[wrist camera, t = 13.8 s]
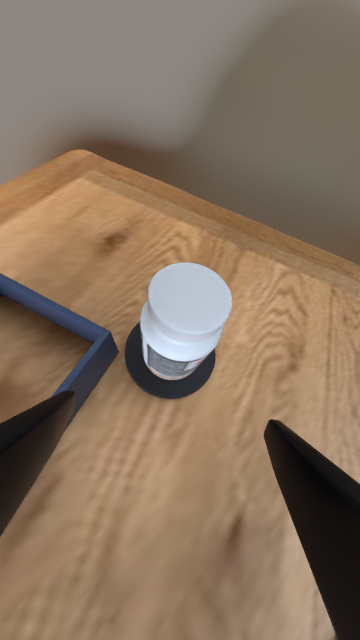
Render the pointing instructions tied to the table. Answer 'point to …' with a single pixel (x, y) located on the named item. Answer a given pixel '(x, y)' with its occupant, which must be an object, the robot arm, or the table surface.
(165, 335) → the pill bottle
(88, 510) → the table surface
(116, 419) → the table surface
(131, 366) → the coaster
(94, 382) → the open box
